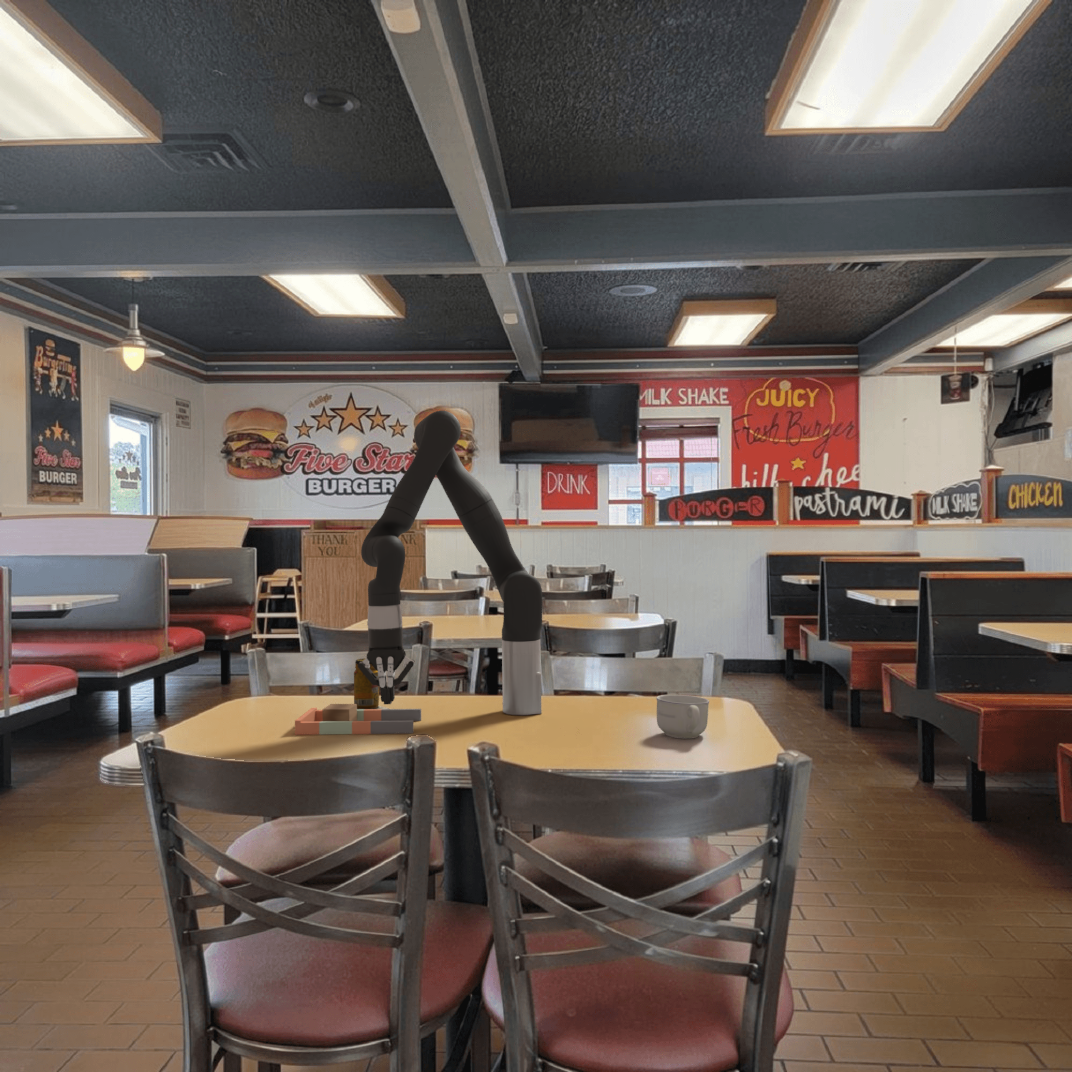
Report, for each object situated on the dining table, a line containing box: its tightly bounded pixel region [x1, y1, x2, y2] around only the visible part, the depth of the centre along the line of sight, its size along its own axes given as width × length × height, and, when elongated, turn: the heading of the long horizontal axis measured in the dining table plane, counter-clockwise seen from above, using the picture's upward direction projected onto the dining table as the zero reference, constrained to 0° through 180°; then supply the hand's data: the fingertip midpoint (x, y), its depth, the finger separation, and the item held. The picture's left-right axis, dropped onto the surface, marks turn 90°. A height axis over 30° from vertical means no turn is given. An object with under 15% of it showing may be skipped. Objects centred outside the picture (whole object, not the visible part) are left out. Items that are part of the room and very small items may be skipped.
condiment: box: [353, 657, 390, 709], centre depth 209 cm, size 7×8×12 cm
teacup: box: [655, 694, 710, 739], centre depth 176 cm, size 14×11×8 cm
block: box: [321, 703, 357, 721], centre depth 191 cm, size 6×6×4 cm
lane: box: [294, 707, 422, 736], centre depth 189 cm, size 25×13×3 cm, turn 90°
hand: (387, 703), depth 189 cm, fingers closed
